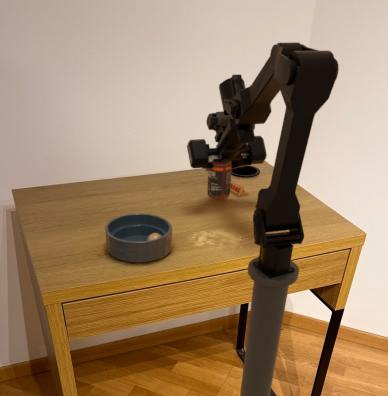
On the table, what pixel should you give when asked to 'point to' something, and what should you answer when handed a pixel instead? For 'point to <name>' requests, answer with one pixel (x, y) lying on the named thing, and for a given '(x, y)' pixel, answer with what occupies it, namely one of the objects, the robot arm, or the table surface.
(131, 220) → the bowl
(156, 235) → the bead
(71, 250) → the table surface
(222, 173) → the supplement bottle
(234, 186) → the chocolate bar
